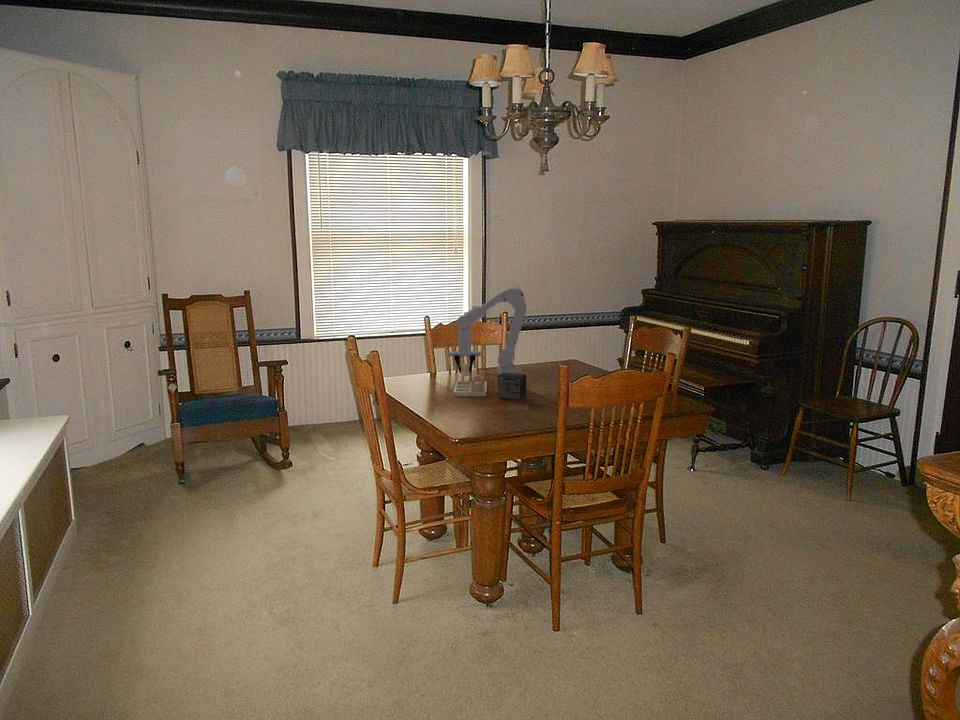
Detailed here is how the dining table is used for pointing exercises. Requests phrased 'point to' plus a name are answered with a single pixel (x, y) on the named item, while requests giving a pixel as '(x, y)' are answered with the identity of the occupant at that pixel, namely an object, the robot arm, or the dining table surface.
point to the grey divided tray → (468, 389)
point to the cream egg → (465, 370)
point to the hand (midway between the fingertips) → (465, 372)
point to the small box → (512, 385)
